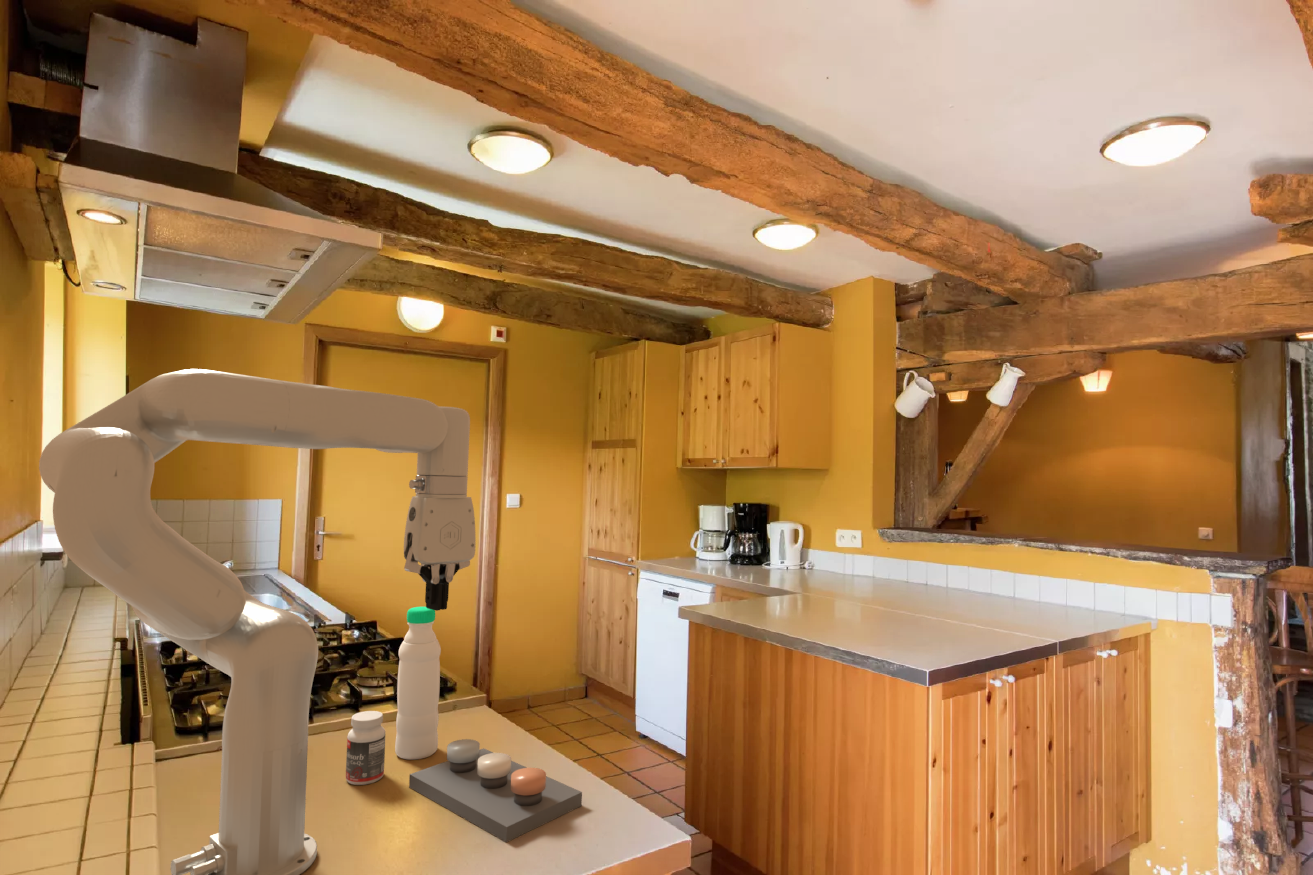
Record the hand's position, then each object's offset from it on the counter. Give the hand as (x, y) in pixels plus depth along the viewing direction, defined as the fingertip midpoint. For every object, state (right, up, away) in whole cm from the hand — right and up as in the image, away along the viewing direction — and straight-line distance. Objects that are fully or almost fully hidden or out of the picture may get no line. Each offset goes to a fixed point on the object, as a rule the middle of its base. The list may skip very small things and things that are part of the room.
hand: (436, 608), depth 109 cm
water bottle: (-8, -29, +16) cm, 34 cm away
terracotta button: (+15, -25, -5) cm, 29 cm away
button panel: (+9, -29, 0) cm, 30 cm away
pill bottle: (-13, -29, +6) cm, 32 cm away
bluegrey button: (+2, -25, +6) cm, 26 cm away
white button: (+9, -25, +1) cm, 27 cm away
